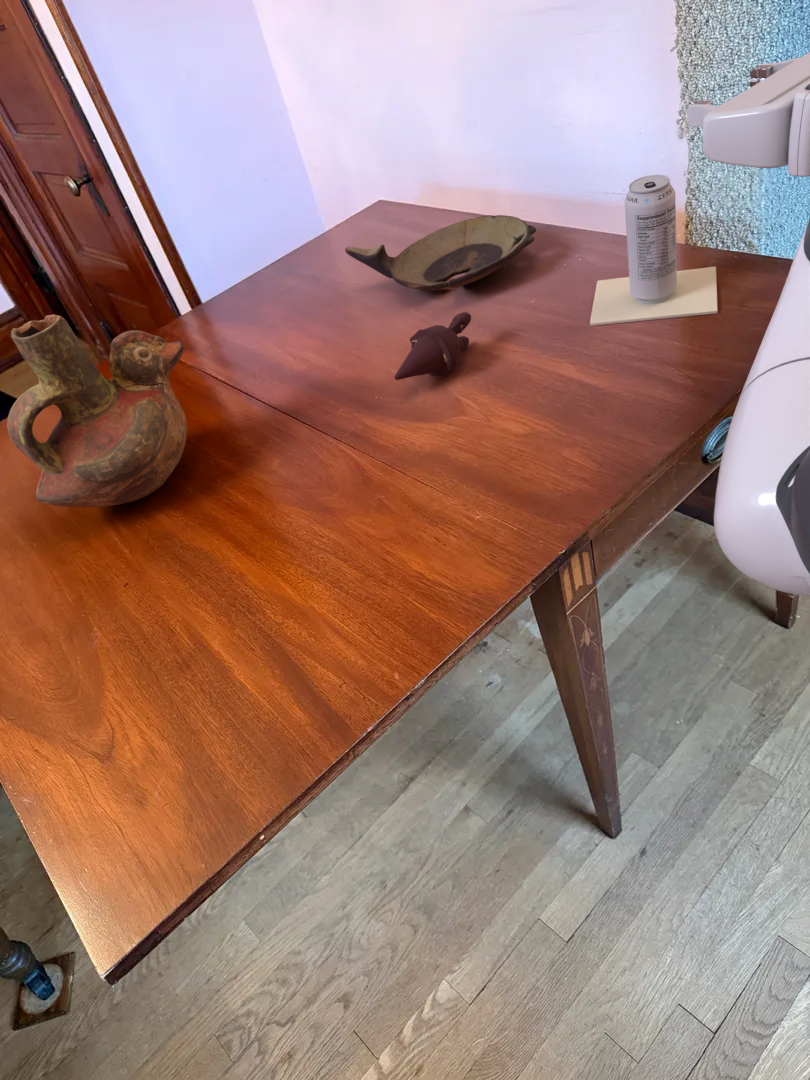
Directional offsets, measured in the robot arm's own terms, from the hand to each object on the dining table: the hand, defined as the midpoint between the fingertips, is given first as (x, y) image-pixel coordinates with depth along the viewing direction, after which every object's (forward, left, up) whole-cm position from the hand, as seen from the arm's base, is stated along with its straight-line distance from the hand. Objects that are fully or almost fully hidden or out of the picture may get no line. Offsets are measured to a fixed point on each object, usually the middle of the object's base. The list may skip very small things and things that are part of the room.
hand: (723, 94), depth 72 cm
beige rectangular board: (+8, -14, -28) cm, 32 cm away
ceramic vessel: (+72, +22, -28) cm, 81 cm away
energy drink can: (+8, -14, -28) cm, 32 cm away
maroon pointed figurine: (+35, +1, -28) cm, 45 cm away
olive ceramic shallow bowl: (+40, -29, -28) cm, 57 cm away
